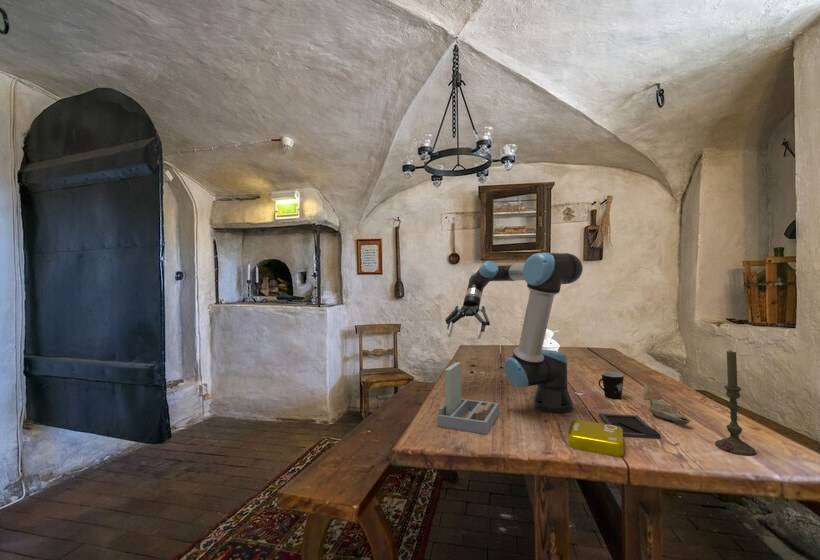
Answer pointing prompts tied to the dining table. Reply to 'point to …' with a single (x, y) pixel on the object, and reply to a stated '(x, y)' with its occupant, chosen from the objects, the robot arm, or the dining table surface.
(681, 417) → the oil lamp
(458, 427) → the offcut rack
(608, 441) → the element tile
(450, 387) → the sage hardboard sheet
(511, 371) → the robot arm
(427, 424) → the dining table surface
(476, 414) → the pine offcut stack
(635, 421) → the picture frame
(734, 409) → the candlestick holder
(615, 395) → the coffee mug
